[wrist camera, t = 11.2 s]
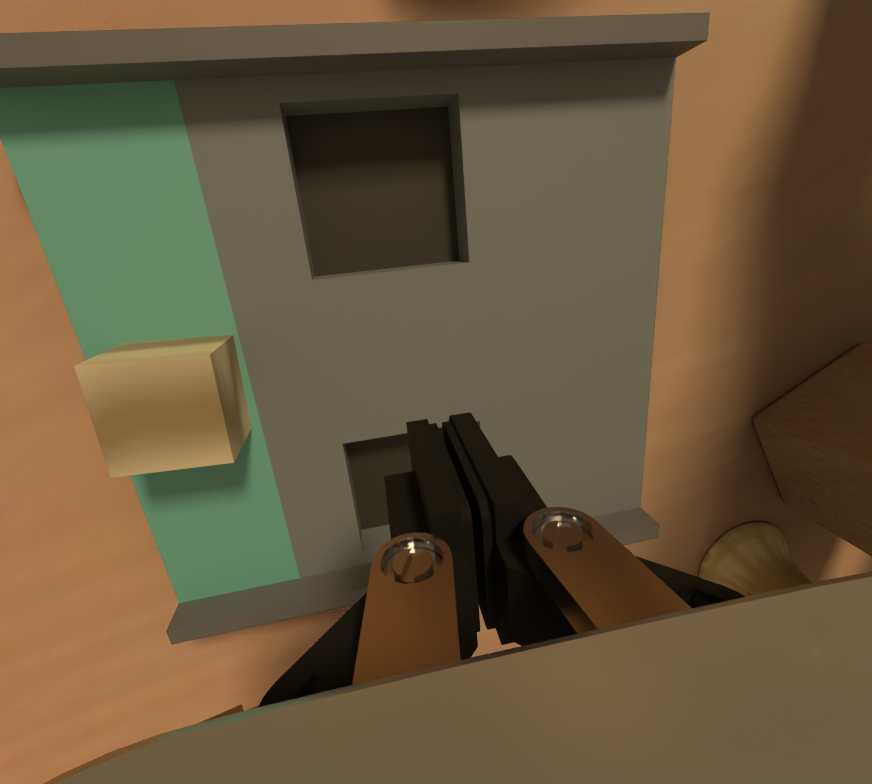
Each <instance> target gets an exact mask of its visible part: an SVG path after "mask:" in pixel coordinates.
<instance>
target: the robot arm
mask: <svg viewBox="0 0 872 784" xmlns="http://www.w3.org/2000/svg"><path fill="white" fill-rule="evenodd" d="M406 426H407V434H408V442H409V450H410V458H411V466H412V471H411V472H405V473H399V474H393V475H387V476H384V481H385V490H386V499H387V509H388V518H389V527H390V536H391V539H390V540H389V541H388V542H386V543H385V544H383V545H382V546H381V547H380V548H379V550H378V551H377V552H376V553H375V556H374V558H373V561H372V565H371V571H370V577H369V584H368V590H367V593H366V594H365V595H364V596H363V597H362V598H361V599H359V600H358V601H357V602H356V603H355V604H354V605H353V606H352V607H351V608H350V609H349V610H348V611H347V612H346V613H345V614H344V615H343V616H342V617H341V618H340V619H339V620H338V621H337V622H336V623H335V624H334V625H333V626H332V627H331V628H330V629H329V630H328V631H327V632H326V633H325V634H324V635H323V636H322V637H321V638H320V639H319V640H318V641H317V642H316V643H315V644H314V645H313V646H312V647H311V648H310V649H309V650H308V651H307V652H306V653H305V654H304V655H303V656H302V657H301V658H300V659H299V660H298V661H297V662H296V663H295V664H294V665H293V666H292V667H291V668H290V669H288V670H287V671H286V672H285V673H284V674H283V675H282V676H281V677H280V678H279V679H278V680H277V681H276V682H275V683H274V685H273V686H272V687H271V688H270V689H269V691H268V692H267V693H266V694H265V696H264V697H263V699H262V701H261V703H260V705H258V706H256V707H254V708H251V709H249V710H246V711H244V710H243V707H242V704H241V705H239V706H236V707H234V708H232V709H229V710H227V711H225V712H223V713H220V714H218V715H216V716H213V717H211V718H209V719H207V720H204V721H202V722H200V723H197V724H194V725H191V726H187V727H183V728H180V729H176V730H172V731H169V732H165V733H162V734H159V735H156V736H153V737H151V738H148V739H145V740H142V741H139V742H137V743H134V744H131V745H128V746H125V747H123V748H120V749H117V750H114V751H112V752H110V753H107V754H105V755H103V756H101V757H98V758H96V759H94V760H92V761H89V762H87V763H85V764H83V765H80V766H78V767H76V768H74V769H71V770H69V771H67V772H65V773H62V774H60V775H59V776H57V777H55V778H53V779H51V780H49V781H48V782H46V783H44V784H872V572H869V573H863V574H857V575H851V576H846V577H840V578H834V579H829V580H824V581H819V582H815V583H810V584H805V585H800V586H796V587H791V588H786V589H781V590H776V591H749V594H748V596H747V597H745V596H744V595H742V594H741V593H739V592H737V591H735V590H733V589H730V588H728V587H726V586H723V585H721V584H718V583H715V582H712V581H709V580H705V579H702V578H699V577H696V576H693V575H690V574H687V573H684V572H681V571H678V570H675V569H672V568H669V567H666V566H663V565H660V564H657V563H654V562H651V561H648V560H645V559H642V558H639V557H636V556H634V555H633V554H632V553H631V552H630V551H629V550H628V549H627V548H626V547H625V546H623V545H622V544H621V543H620V542H619V541H618V540H617V539H616V538H615V537H614V536H613V535H611V534H610V533H609V532H608V531H607V530H606V529H605V528H604V527H603V526H602V525H601V524H599V523H598V522H597V521H596V520H595V519H593V518H592V517H591V516H589V515H588V514H586V513H584V512H581V511H579V510H576V509H572V508H567V507H549V508H548V507H547V506H546V504H545V503H544V502H543V500H542V499H541V497H540V496H539V494H538V493H537V491H536V490H535V488H534V487H533V485H532V484H531V482H530V481H529V479H528V478H527V477H526V475H525V474H524V472H523V471H522V469H521V468H520V466H519V465H518V463H517V462H516V460H515V459H514V458H513V457H512V455H506V456H500V457H498V456H497V454H496V453H495V451H494V449H493V448H492V446H491V445H490V443H489V441H488V440H487V438H486V436H485V435H484V433H483V432H482V430H481V428H480V427H479V425H478V423H477V422H476V420H475V419H474V417H473V415H472V414H471V413H470V412H469V413H462V414H456V415H450V416H449V421H446V422H442V431H443V438H442V436H441V433H440V431H439V428H438V426H437V424H436V423H433V424H429V422H428V420H427V419H423V420H417V421H410V422H406ZM478 603H479V605H478ZM479 607H480V610H481V613H482V616H483V619H484V622H485V625H486V627H487V629H493V628H496V630H497V633H498V636H499V639H500V642H501V645H504V644H508V643H513V642H515V643H517V644H519V645H521V647H516V648H512V649H508V650H503V651H499V652H494V653H490V654H485V655H481V656H476V657H472V658H471V656H472V655H473V653H474V652H475V650H476V649H477V647H478V643H477V632H479V631H480V619H479Z"/></svg>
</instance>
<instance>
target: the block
mask: <svg viewBox="0 0 872 784" xmlns="http://www.w3.org/2000/svg"><path fill="white" fill-rule="evenodd" d="M74 368H75V371H76V374H77V377H78V380H79V383H80V386H81V389H82V392H83V395H84V398H85V401H86V404H87V407H88V410H89V413H90V416H91V419H92V422H93V425H94V428H95V431H96V434H97V437H98V440H99V443H100V446H101V449H102V452H103V455H104V458H105V461H106V464H107V467H108V470H109V473H110V476H111V478H113V477H121V476H129V475H137V474H146V473H154V472H162V471H170V470H178V469H187V468H195V467H203V466H211V465H219V464H228V463H234V462H235V460H236V458H237V456H238V454H239V452H240V450H241V448H242V446H243V444H244V442H245V440H246V438H247V436H248V434H249V432H250V430H251V428H252V426H251V421H250V416H249V411H248V406H247V401H246V396H245V391H244V386H243V381H242V376H241V371H240V366H239V361H238V356H237V351H236V346H235V341H234V336H233V335H225V336H212V337H199V338H186V339H173V340H160V341H147V342H134V343H122V344H120V345H118V346H116V347H114V348H111V349H109V350H107V351H105V352H103V353H101V354H98V355H96V356H94V357H92V358H90V359H88V360H86V361H83V362H81V363H79V364H77V365H75V366H74Z"/></svg>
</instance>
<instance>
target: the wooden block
mask: <svg viewBox="0 0 872 784" xmlns="http://www.w3.org/2000/svg"><path fill="white" fill-rule="evenodd" d="M753 424H754V427H755V429H756V432H757V434H758V437H759V440H760V442H761V445H762V447H763V450H764V452H765V455H766V458H767V460H768V463H769V465H770V468H771V471H772V473H773V476H774V478H775V481H776V483H777V486H778V489H779V491H780V494H781V496H782V499H783V501H784V502H785V504H786V505H788V506H789V507H791V508H793V509H794V510H796V511H798V512H799V513H801V514H803V515H804V516H806V517H808V518H809V519H811V520H813V521H814V522H816V523H818V524H819V525H821V526H822V527H824V528H826V529H827V530H829V531H831V532H832V533H834V534H836V535H837V536H839V537H841V538H842V539H844V540H846V541H847V542H849V543H851V544H852V545H854V546H856V547H857V548H859V549H860V550H862V551H864V552H865V553H867V554H869V555H870V556H872V344H869V343H864V344H859V345H857V346H856V347H854V348H853V349H851V350H850V351H848V352H847V353H846V354H844V355H843V356H841V357H840V358H838V359H837V360H835V361H834V362H832V363H831V364H829V365H828V366H827V367H825V368H824V369H822V370H821V371H819V372H818V373H816V374H815V375H813V376H812V377H810V378H809V379H808V380H806V381H805V382H803V383H802V384H800V385H799V386H797V387H796V388H794V389H793V390H791V391H790V392H789V393H787V394H786V395H784V396H783V397H781V398H780V399H778V400H777V401H775V402H774V403H772V404H771V405H770V406H768V407H767V408H765V409H764V410H762V411H761V412H759V413H758V414H756V415H755V416H754V418H753Z"/></svg>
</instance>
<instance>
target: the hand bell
mask: <svg viewBox="0 0 872 784" xmlns="http://www.w3.org/2000/svg"><path fill="white" fill-rule="evenodd" d="M698 577H699V578H702V579H705V580H709V581H712V582H715V583H718V584H721V585H723V586H726V587H728V588H730V589H733V590H735V591H737V592H739V593H741V594H742V595H744V596H745V597H747V596H748V594H749V591H776V590H781V589H786V588H791V587H796V586H800V585H805V584H810V583H812V582H811V581H810V580H809V579H808V578H807V577H806V576H805V575H804V574H803V573H802V572H801V571H800V570H799V569H798V568H797V567H796V565H795V564H794V563H793V561H792V560H791V558H790V556H789V554H788V545H787V542H786V539H785V537H784V535H783V534H782V532H781V531H780V530H779V529H778V528H777V527H776V526H774V525H772V524H769V523H765V522H752V523H746V524H743V525H740V526H738V527H735V528H733V529H731V530H730V531H728V532H727V533H725V534H724V535H722V536H721V537H720V538H719V539H718V540H717V541H716V542H715V543H714V544H713V545H712V546H711V547H710V548H709V550H708V551H707V552H706V554H705V555H704V558H703V560H702V562H701V565H700V568H699V573H698Z"/></svg>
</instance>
